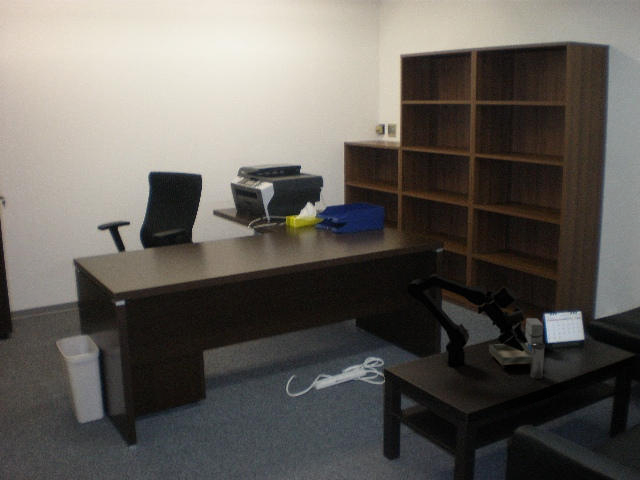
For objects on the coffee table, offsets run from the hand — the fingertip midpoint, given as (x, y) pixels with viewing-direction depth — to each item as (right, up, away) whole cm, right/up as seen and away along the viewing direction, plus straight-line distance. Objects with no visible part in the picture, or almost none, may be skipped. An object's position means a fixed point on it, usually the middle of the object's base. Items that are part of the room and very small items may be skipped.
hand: (525, 346), depth 249 cm
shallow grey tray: (-1, -9, +14) cm, 16 cm away
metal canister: (+4, -11, 0) cm, 12 cm away
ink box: (+12, -5, +29) cm, 32 cm away
